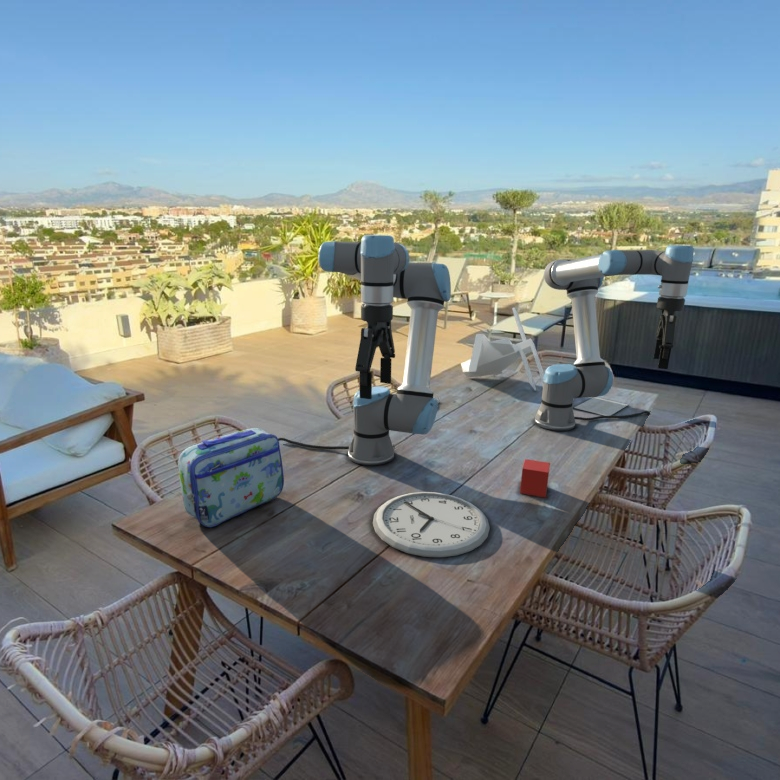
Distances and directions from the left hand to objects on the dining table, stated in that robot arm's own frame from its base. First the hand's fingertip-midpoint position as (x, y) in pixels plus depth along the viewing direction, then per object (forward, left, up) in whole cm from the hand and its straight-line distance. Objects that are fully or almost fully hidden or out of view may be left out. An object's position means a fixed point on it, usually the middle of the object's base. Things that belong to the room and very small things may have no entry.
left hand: (376, 390), depth 129 cm
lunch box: (-34, -14, -34) cm, 51 cm away
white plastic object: (+2, +136, -34) cm, 140 cm away
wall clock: (+15, +2, -34) cm, 38 cm away
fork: (-16, +90, -34) cm, 98 cm away
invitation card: (+49, +122, -34) cm, 136 cm away
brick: (+36, +32, -34) cm, 59 cm away
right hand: (+66, +74, -2) cm, 99 cm away
